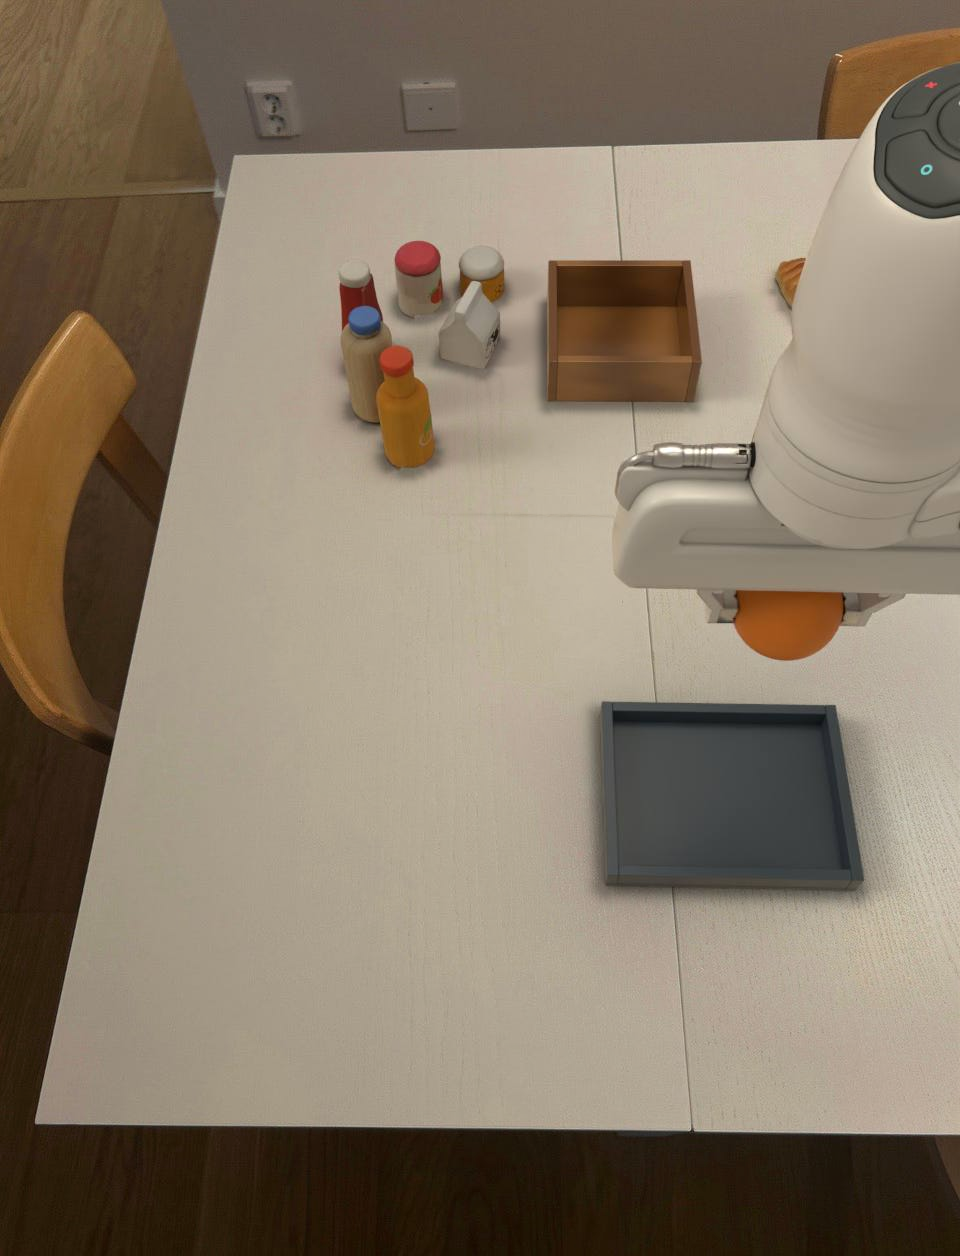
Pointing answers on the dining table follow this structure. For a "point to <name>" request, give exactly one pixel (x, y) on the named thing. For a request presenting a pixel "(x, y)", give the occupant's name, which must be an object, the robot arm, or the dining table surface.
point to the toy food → (387, 370)
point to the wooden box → (621, 331)
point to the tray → (726, 797)
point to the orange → (788, 621)
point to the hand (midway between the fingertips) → (783, 614)
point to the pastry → (789, 278)
